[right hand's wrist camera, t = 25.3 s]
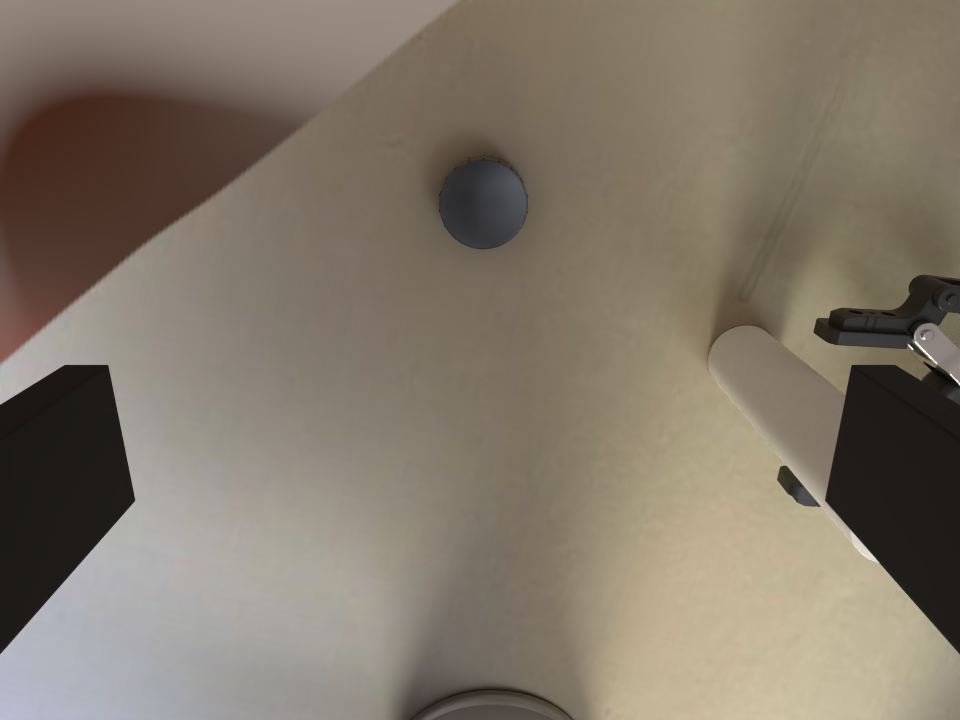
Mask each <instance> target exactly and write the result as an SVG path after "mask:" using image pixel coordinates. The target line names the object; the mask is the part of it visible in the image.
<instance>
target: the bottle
mask: <svg viewBox="0 0 960 720" xmlns="http://www.w3.org/2000/svg"><path fill="white" fill-rule="evenodd" d="M708 368H709V371H710V374H711V375H712V377H713V378H714V380H715V381H716V382H717V383H718V384H719V386H720V387H721V388H722V389H723V390H724V392H725V393H726V394H727V395H728V396H729V397H730V399H731V400H732V401H733V402H734V403H735V405H736V406H737V407H738V408H739V409H740V411H741V412H742V413H743V414H744V415H745V417H746V418H747V419H748V420H749V421H750V422H751V424H752V425H753V426H754V427H755V428H756V430H757V431H758V432H759V433H760V434H761V436H762V437H763V438H764V439H765V440H766V442H767V443H768V444H769V445H770V446H771V447H772V449H773V450H774V451H775V452H776V453H777V455H778V456H779V457H780V458H781V459H782V461H783V462H784V463H785V464H786V465H787V467H788V468H789V469H790V470H791V471H792V472H793V474H794V475H795V476H796V477H797V478H798V480H799V481H800V482H801V483H802V484H803V486H804V487H805V488H806V489H807V490H808V492H809V493H810V494H811V495H812V496H813V497H814V499H815V500H816V501H817V502H818V503H819V505H820V506H821V507H822V508H823V509H824V511H825V512H826V513H827V514H828V515H829V517H830V518H831V519H832V520H833V521H834V522H835V524H836V525H837V526H838V527H839V528H840V530H841V531H842V532H843V533H844V534H845V536H846V537H847V538H848V539H849V540H850V542H851V543H852V544H853V545H854V546H855V547H856V549H857V550H858V551H859V552H860V553H861V554H862V555H864V556H865V557H867V558H868V559H870V560H872V561H875V562H878V561H877V560H876V558H875V557H874V556H873V555H872V554H871V553H870V552H869V550H868V549H867V548H866V547H865V546H864V545H863V544H862V542H861V541H860V540H859V539H858V538H857V537H856V536H855V535H854V533H853V532H852V531H851V530H850V529H849V528H848V527H847V525H846V524H845V523H844V522H843V521H842V520H841V519H840V517H839V516H838V515H837V514H836V513H835V512H834V511H833V509H832V508H831V507H830V506H829V505H828V504H827V503H826V502H825V497H826V492H827V487H828V482H829V477H830V472H831V467H832V462H833V457H834V452H835V447H836V442H837V437H838V432H839V427H840V422H841V417H842V412H843V407H844V402H845V397H846V396H845V395H844V394H843V393H842V392H841V391H839V390H838V389H837V388H836V387H834V386H833V385H832V384H831V383H829V382H828V381H827V380H826V379H824V378H823V377H822V376H821V375H819V374H818V373H817V372H816V371H814V370H813V369H812V368H811V367H809V366H808V365H807V364H806V363H805V362H803V361H802V360H801V359H800V358H798V357H797V356H796V355H795V354H793V353H792V352H791V351H790V350H788V349H787V348H786V347H785V346H783V345H782V344H781V343H780V342H778V341H777V340H776V339H775V338H773V337H772V336H771V335H770V334H769V333H767V332H766V331H765V330H763V329H761V328H759V327H755V326H749V325H744V326H738V327H734V328H732V329H729V330H728V331H726V332H724V333H723V334H722V335H720V336H719V337H718V338H717V339H716V341H715V342H714V343H713V345H712V347H711V349H710V352H709V355H708ZM878 563H879V562H878Z"/></svg>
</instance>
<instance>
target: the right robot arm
mask: <svg viewBox="0 0 960 720" xmlns="http://www.w3.org/2000/svg"><path fill="white" fill-rule="evenodd" d="M134 502H135V497H134V492H133V487H132V482H131V477H130V472H129V467H128V462H127V457H126V452H125V447H124V442H123V437H122V432H121V427H120V422H119V417H118V412H117V407H116V402H115V397H114V392H113V387H112V382H111V377H110V372H109V367H108V365H64V366H62V367H61V368H59V369H58V370H56V371H54V372H53V373H51V374H50V375H48V376H46V377H45V378H43V379H41V380H40V381H38V382H37V383H35V384H33V385H32V386H30V387H28V388H27V389H25V390H24V391H22V392H20V393H19V394H17V395H15V396H14V397H12V398H11V399H9V400H7V401H6V402H4V403H3V404H1V405H0V654H1V653H2V652H3V650H4V649H5V648H6V647H7V646H8V645H9V644H10V643H11V641H12V640H13V639H14V638H15V637H16V636H17V635H18V633H19V632H20V631H21V630H22V629H23V628H24V627H25V625H26V624H27V623H28V622H29V621H30V620H31V619H32V617H33V616H34V615H35V614H36V613H37V612H38V611H39V610H40V608H41V607H42V606H43V605H44V604H45V603H46V602H47V600H48V599H49V598H50V597H51V596H52V595H53V594H54V592H55V591H56V590H57V589H58V588H59V587H60V586H61V585H62V583H63V582H64V581H65V580H66V579H67V578H68V577H69V575H70V574H71V573H72V572H73V571H74V570H75V569H76V567H77V566H78V565H79V564H80V563H81V562H82V561H83V560H84V558H85V557H86V556H87V555H88V554H89V553H90V552H91V550H92V549H93V548H94V547H95V546H96V545H97V544H98V542H99V541H100V540H101V539H102V538H103V537H104V536H105V535H106V533H107V532H108V531H109V530H110V529H111V528H112V527H113V525H114V524H115V523H116V522H117V521H118V520H119V519H120V517H121V516H122V515H123V514H124V513H125V512H126V511H127V509H128V508H129V507H130V506H131V505H132V504H133V503H134ZM825 502H826V503H827V504H828V505H829V506H830V507H831V508H832V509H833V511H834V512H835V513H836V514H837V515H838V516H839V517H840V519H841V520H842V521H843V522H844V523H845V524H846V525H847V527H848V528H849V529H850V530H851V531H852V532H853V533H854V535H855V536H856V537H857V538H858V539H859V540H860V541H861V542H862V544H863V545H864V546H865V547H866V548H867V549H868V550H869V552H870V553H871V554H872V555H873V556H874V557H875V558H876V560H877V561H878V562H879V563H880V564H881V565H882V566H883V567H884V569H885V570H886V571H887V572H888V573H889V574H890V575H891V577H892V578H893V579H894V580H895V581H896V582H897V583H898V585H899V586H900V587H901V588H902V589H903V590H904V591H905V592H906V594H907V595H908V596H909V597H910V598H911V599H912V600H913V602H914V603H915V604H916V605H917V606H918V607H919V608H920V610H921V611H922V612H923V613H924V614H925V615H926V616H927V617H928V619H929V620H930V621H931V622H932V623H933V624H934V625H935V627H936V628H937V629H938V630H939V631H940V632H941V633H942V635H943V636H944V637H945V638H946V639H947V640H948V641H949V643H950V644H951V645H952V646H953V647H954V648H955V649H956V650H957V652H958V653H959V654H960V405H959V404H957V403H956V402H954V401H953V400H951V399H949V398H948V397H946V396H945V395H943V394H941V393H940V392H938V391H936V390H935V389H933V388H932V387H930V386H928V385H927V384H925V383H923V382H922V381H920V380H919V379H917V378H915V377H914V376H912V375H910V374H909V373H907V372H906V371H904V370H902V369H901V368H899V367H898V366H896V365H852V367H851V372H850V377H849V382H848V387H847V392H846V397H845V402H844V407H843V412H842V417H841V422H840V427H839V432H838V437H837V442H836V447H835V452H834V457H833V462H832V467H831V472H830V477H829V482H828V487H827V492H826V497H825ZM413 720H572V719H571V718H570V717H569V716H567V715H566V714H565V713H564V712H562V711H561V710H560V709H558V708H557V707H555V706H553V705H551V704H550V703H548V702H545V701H543V700H541V699H538V698H536V697H533V696H530V695H526V694H522V693H517V692H512V691H502V690H483V691H473V692H468V693H463V694H459V695H455V696H452V697H449V698H446V699H444V700H441V701H439V702H437V703H435V704H433V705H432V706H430V707H428V708H426V709H425V710H424V711H422V712H421V713H419V714H418V715H417V716H416V717H415V718H414V719H413Z"/></svg>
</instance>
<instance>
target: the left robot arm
mask: <svg viewBox="0 0 960 720" xmlns="http://www.w3.org/2000/svg"><path fill="white" fill-rule="evenodd" d="M909 293H910V295H909V297H908V298H907V300H906V301H905V303H904V304H903V305H902V306H900V307H899V308H897V309H894V310H872V309H855V308H854V309H853V308H839V309H836V310H833V311H831V313H830V317H829V318H818V319H817V320H816V324H815V328H814V333H815V334H816V335H817V336H819V337H820V338H822V339H823V340H825V341H826V342H828V343H831V344H835V345H846V346H864V347H881V348H899V349H907V347H908V350H909V351H910V352H911V353H912V354H913V355H914V356H915V357H916V358H917V359H918V360H919V361H920V362H921V363H922V364H923V365H924V366H925V367H926V368H927V369H928V370H929V371H930V372H929V373H928V374H927V375H926V376H925V377H924V378H923V379H922V382H923V383H925V384H927V385H928V386H930V387H932V388H933V389H935V390H936V391H938V392H940V393H941V394H943V395H945V396H946V397H948V398H949V399H951V400H953V401H954V402H956V403H957V404H959V405H960V348H959V347H958V346H957V345H956V344H955V343H954V342H953V341H952V340H951V339H950V338H949V337H948V336H947V335H946V334H945V333H944V332H943V331H942V330H941V329H940V328H939V327H938V326H939V324H940V323H941V321H942V320H943V318H944V317H945V316H946V314H947V313H948V312H953V313H960V279H955V278H947V277H939V276H930V275H919V276H917V277H915V278H914V279H913V280H912V281H911V283H910V285H909ZM777 480H778V482H779V483H780V484H781V485H782V487H783V488H784V489H785V491H786V492H787V493H788V494H789V495H791V496H792V497H793V498H794V499H795V500H796V502H797V503H800V504H802V505H804V506H817V507H821V506H820V505H819V503H818V502H817V501H816V500H815V499H814V497H813V496H812V495H811V494H810V493H809V492H808V490H807V489H806V488H805V487H804V486H803V484H802V483H801V482H800V481H799V480H798V478H797V477H796V476H795V475H794V474H793V472H792V471H791V470H790V469H789V468H788V467H787V466H781V467H780V470H779V474H778V478H777Z"/></svg>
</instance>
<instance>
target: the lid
mask: <svg viewBox="0 0 960 720" xmlns="http://www.w3.org/2000/svg"><path fill="white" fill-rule="evenodd" d="M444 182H445V184H444V186H443V188H442V191H441V192H440V194H439V197H440V204H439V205H440V209H439V212H440V214H441V218H442V221H443V223H444V226H445V227H446V229H447V230H448V232H449V233H450V234H451V235H452V236H453V237H454V238H455V239H456V240H458V241H459V242H461V243H462V244H464V245H466V246H469V247H472V248H477V249H490V248H495V247H498V246H501V245H503V244H505V243H506V242H508V241H509V240H511V239H512V238H513V237H514V236H515V235H516V234H517V233H518V231H519V230H520V228H521V227H522V225H523V223H524V220H525V218H526V214H527V198H528V195H527V193H526V191H525V188H524V186H523V184H522V183H524V182H523V180H522V178H519V176H518V175H517V173H516V172H515V171H514V168H513V167H512V166H511V167H510V166H509V165H508V164H506V163H505V162H503V161H501V160H500V158H498V159H496V158H492V157H485V155H483V157H475V158H471V159H470V157H469V158H468V160H466V161H464V162H462V163H461V164H459V165H458V166H457V165H455V167H454V169H453V171H452V172H451V173H450V174H449V176H448V177H447V176H446V178H445V180H444Z"/></svg>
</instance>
